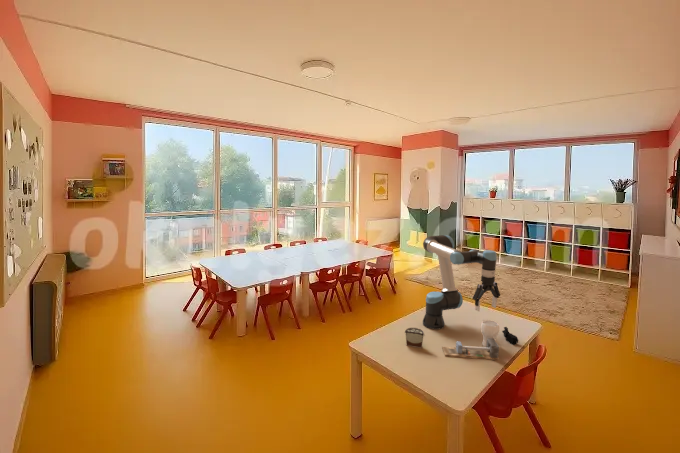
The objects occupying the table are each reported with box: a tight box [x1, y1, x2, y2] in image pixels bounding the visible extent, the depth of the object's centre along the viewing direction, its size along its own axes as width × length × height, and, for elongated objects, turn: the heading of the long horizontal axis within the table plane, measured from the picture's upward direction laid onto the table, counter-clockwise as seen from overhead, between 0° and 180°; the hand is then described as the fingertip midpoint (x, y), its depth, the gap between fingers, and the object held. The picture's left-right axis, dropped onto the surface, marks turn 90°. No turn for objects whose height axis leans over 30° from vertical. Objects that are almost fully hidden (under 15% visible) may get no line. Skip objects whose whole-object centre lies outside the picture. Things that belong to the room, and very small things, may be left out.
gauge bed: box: [441, 339, 500, 360], centre depth 192 cm, size 30×9×8 cm, turn 82°
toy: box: [501, 326, 519, 346], centre depth 210 cm, size 15×5×7 cm, turn 1°
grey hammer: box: [455, 340, 490, 355], centre depth 191 cm, size 19×7×5 cm, turn 82°
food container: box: [404, 327, 426, 349], centre depth 204 cm, size 12×6×10 cm, turn 71°
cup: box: [480, 319, 500, 347], centre depth 201 cm, size 11×11×15 cm
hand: (485, 308), depth 199 cm, fingers open, 13 cm apart
